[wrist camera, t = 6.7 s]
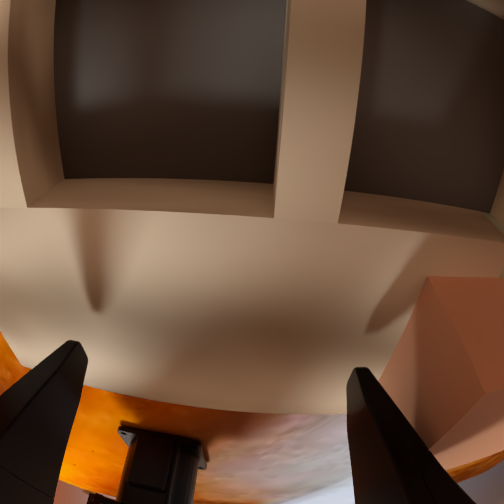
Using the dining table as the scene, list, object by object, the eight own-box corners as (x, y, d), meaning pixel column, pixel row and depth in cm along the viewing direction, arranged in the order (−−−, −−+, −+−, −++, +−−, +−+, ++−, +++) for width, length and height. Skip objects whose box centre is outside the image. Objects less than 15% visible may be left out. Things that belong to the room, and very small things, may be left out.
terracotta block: (480, 379, 11) (505, 449, 8) (370, 394, 11) (385, 483, 8) (545, 278, 8) (598, 354, 4) (427, 276, 8) (485, 392, 5)
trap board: (499, 357, 14) (525, 415, 10) (41, 332, 15) (6, 394, 11) (604, 81, 5) (670, 111, 1) (-26, 6, 5) (-109, 18, 1)
